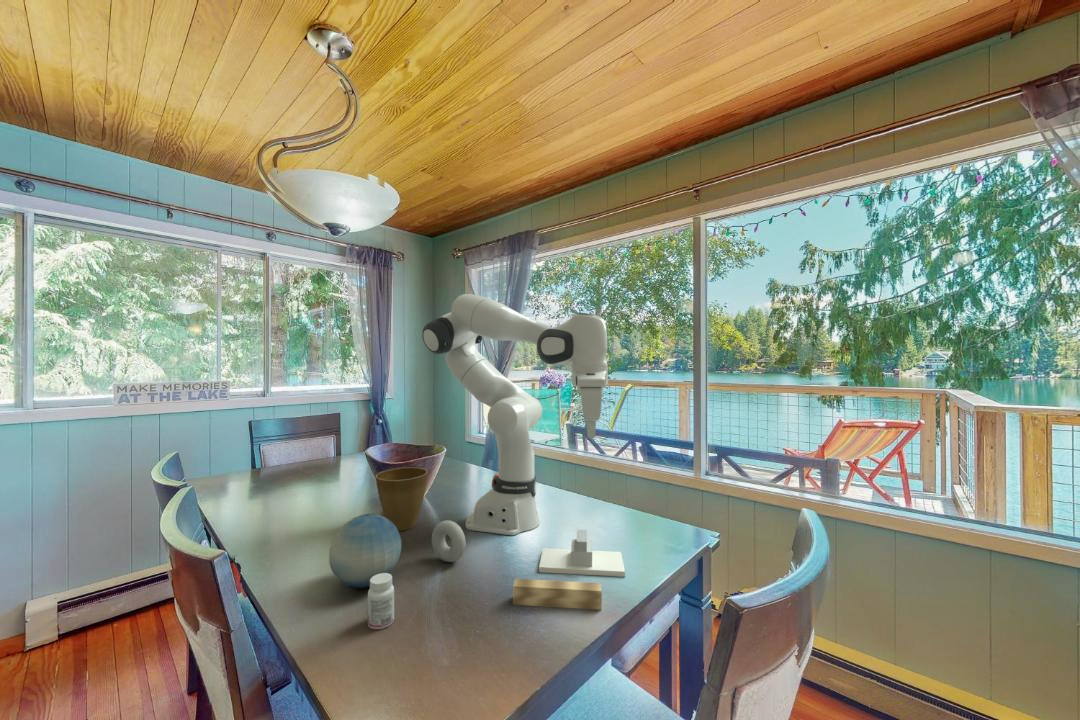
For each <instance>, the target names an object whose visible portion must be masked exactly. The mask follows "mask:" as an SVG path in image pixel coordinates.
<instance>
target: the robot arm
mask: <svg viewBox="0 0 1080 720" xmlns="http://www.w3.org/2000/svg"><path fill="white" fill-rule="evenodd" d="M421 333H422V334H421V335H422V337H421V338H422V341H423V343H424V345H425V347H426V348H427V349H428V350H429V351H430V352H432V353H433V354H435V355H441V354H442V355H443V354H445V363H446V366H447V367H448V368H449V369H450V371H451V373H452V374H453V375H454V377H455V378H456V380H457V381H459V382H460V383H461V384H462V386H464V387H465V389H466V390H467V391H468V392H469V393H470V394H471V395H472V396H473V397H474V398H475V399H476V400H477V401H479V403H481V404H483V405H486V406H488V407H489V408H490V409H489V410H488V412H487V424H488V426H489V428H490V429H491V431H492V432H493V433H494V437H495V443H496V446H497V452H498V453H497V454H498V455H497V456H498V473H496V474H495V475H494V476H492V480H491V489H490V490H489V491H487V492H486V493H485V494H483V495H482V496H480V498H479V499H477V500H476V503H475V505H474V508H473V512H472V513H471V514H469V516H468V517H467V518H466V520H465V528H466V530H469V531H476V532H484V533H492V534H499V535H500V534H501V535H507V536H515V535H518V534H520V533H522V532H526V531H531V530H533V529H536V528H537V527H538V526H540V523H541V522H540V518H539V514H538V510H537V502H536V494H537V478H536V475H535V458H536V457H535V454H536V453H535V449H534V448H533V446H532V443H531V438H530V434H529V433H530V431H529V430H530V428H532V427H534V426H536V425H537V424H538V423H539V421H540V419H541V418H542V415H543V407H542V403H541V402H540V401H539V400H538V398H536V397H534V396H532V395H530V394H529V393H527V392H526V390H524V389H522V388H521V387H520V386H518V385H517V384H515V383H514V382H512V381H511V380H510V379H508V378H507V377H506V376H505V375H503V373H501V372H500V371H499V370H498V369H497V368H496V367H495V366H494V365H493V364H492V363H491V362H490V361H489V360H488V359H487V358H485V357H484V356H483V355H482V354H481V353H480V352H479V350H478V349H477V347H476V345H477V344H480V343H481V342H482V341H483V338H485V339H490V340H494V341H505V342H506V341H509V342H510V341H513V342H523V343H525V342H526V343H529V344H533V345H536V351H537V355H538V357H539V359H540V360H541V361H542V362H543V363H545V364H548V365H551V366H571V386H573V387H574V386H575V387H576V392H577V393H580V394H579V395H580V402H581V409H582V416H583V420H584V421H585V430H586V432H587V435H586V437H587V438H588V439H595V438H596V427H597V421H600V419H601V415H602V405H603V404H602V403H603V392H604V388H605V387H606V386H608V385H609V377H608V376H609V375H608V374H609V372H608V371H609V368H608V367H609V366H608V361H607V352H608V333H607V325H606V322H605V319H604V318H603V317H602V316H600V315H597V314H593V313H587V312H586V313H585V312H577V313H575V314H573V315H572V316H571V317H570V318H569V319H567V320H566V321H564V323H561V324H559V325H557V326H554V327H552V326H549V325H547V324H543V323H541V322H538V321H535V320H533V319H531V318H529V317H527V316H525V315H524V314H522V313H520V312H518V311H516V310H515V309H512V308H510V307H509V306H507V305H505V304H504V303H501V302H499V301H497V300H495V299H492V298H488V297H486V296H482V295H477V294H472V293H465V294H464V293H463V294H461V295H459V296H457V297H456V298H455V300H454V301H453V303H452V305H451V311H449V312H447V313H446V314H443V315H441V316H439V317H438V318H434V319H432V320H431V321H429V322H428V323H427V324H425V326H423V328H422V332H421Z"/></svg>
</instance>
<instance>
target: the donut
mask: <svg viewBox="0 0 1080 720" xmlns="http://www.w3.org/2000/svg"><path fill="white" fill-rule="evenodd" d="M446 536H448V537H449V539H450V540H451V541H450V542H451V547H450V546H449V545H448V544H447V541H446ZM466 543H467V542H466V536H465V533H464V531H463V529H462V527H461V526H460V525H459V524H458V523H457V522H455V521H453V520H442V521H440V522H439V523H437V524H436V526H435V527H434V529H433V531H432V534H431V545H432V549H433V551H434V553H435V554H436V556H437V557H438V558H439V559H440V560H441V561H443V562H445V563H454V562H457V561H458V560H459V559H461V557H462V556H463V555H464V553H465V550H466Z"/></svg>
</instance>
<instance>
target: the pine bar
mask: <svg viewBox="0 0 1080 720" xmlns="http://www.w3.org/2000/svg"><path fill="white" fill-rule="evenodd" d="M513 581H514V582H513V584H512V605H518V606H532V607H533V606H534V607H547V606H548V607H550V608H568V609H582V608H583V610H584V609H585V610H602V609H603V608H602V607H603V606H602V604H603V601H602V600H603V599H602V595H603V594H602V593H603V592H602V583H600V582H585V581H567V580H566V581H565V580H546V579H543V580H542V579H531V578H530V579H529V578H527V579H526V578H515V579H514V580H513Z"/></svg>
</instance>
